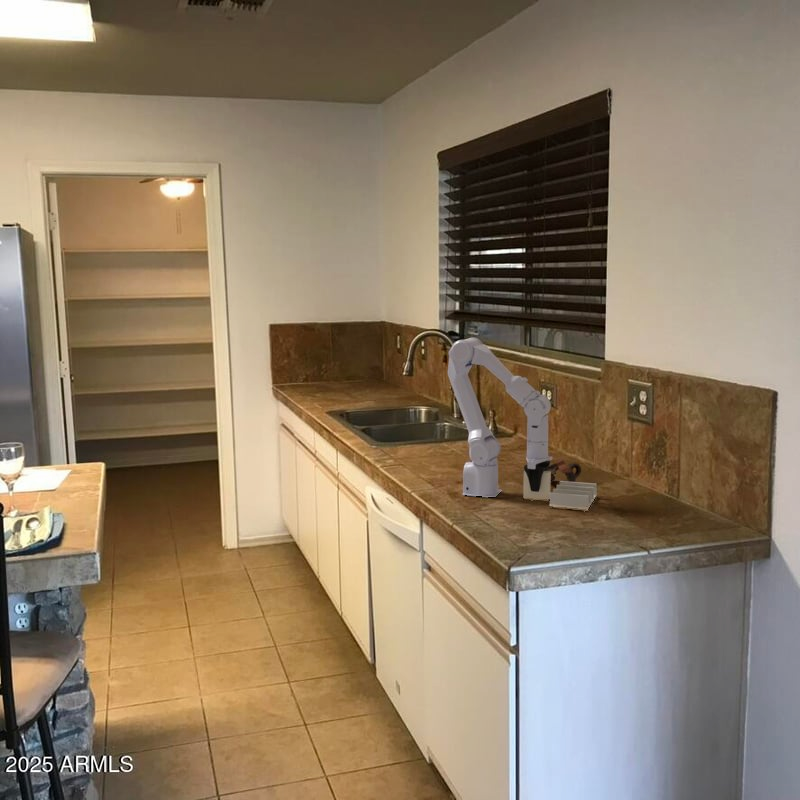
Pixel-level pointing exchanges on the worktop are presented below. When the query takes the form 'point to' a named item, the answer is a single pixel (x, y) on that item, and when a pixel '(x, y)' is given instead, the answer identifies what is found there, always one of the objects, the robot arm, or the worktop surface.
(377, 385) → the worktop surface
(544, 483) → the beige rectangular block
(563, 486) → the dish rack
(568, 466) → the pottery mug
